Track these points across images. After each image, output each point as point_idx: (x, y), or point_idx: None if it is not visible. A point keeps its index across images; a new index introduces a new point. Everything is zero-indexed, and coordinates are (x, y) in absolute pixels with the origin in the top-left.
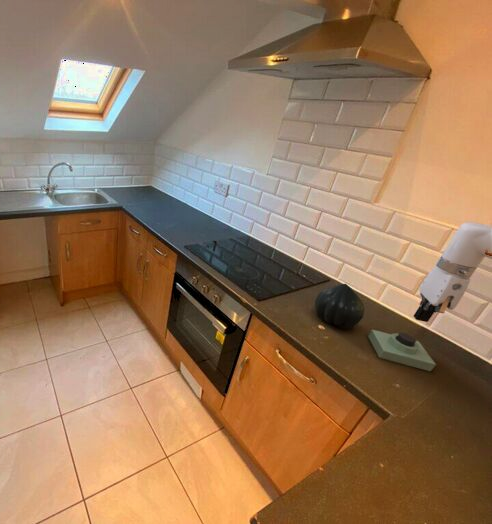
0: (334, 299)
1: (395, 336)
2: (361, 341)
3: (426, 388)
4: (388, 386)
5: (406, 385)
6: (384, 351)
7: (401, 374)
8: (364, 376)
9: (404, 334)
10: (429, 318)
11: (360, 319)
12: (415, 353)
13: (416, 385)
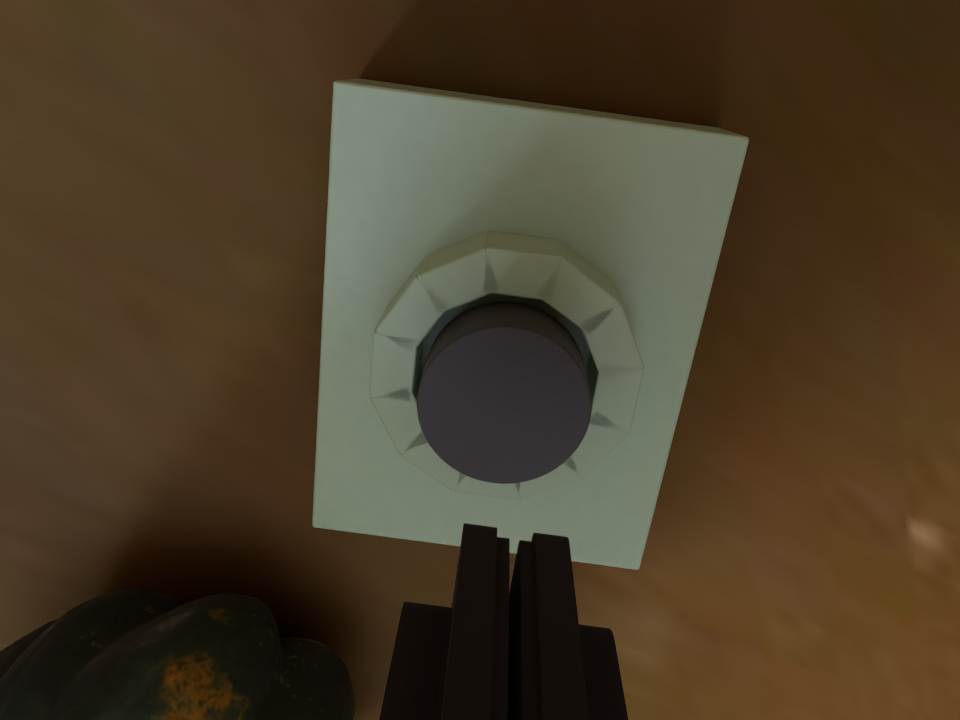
0: None
1: None
2: (439, 564)
3: (946, 319)
4: (941, 601)
5: (922, 468)
6: (640, 561)
7: (801, 440)
8: (858, 706)
9: (451, 414)
10: (575, 600)
11: (247, 653)
12: (613, 284)
13: (917, 386)
